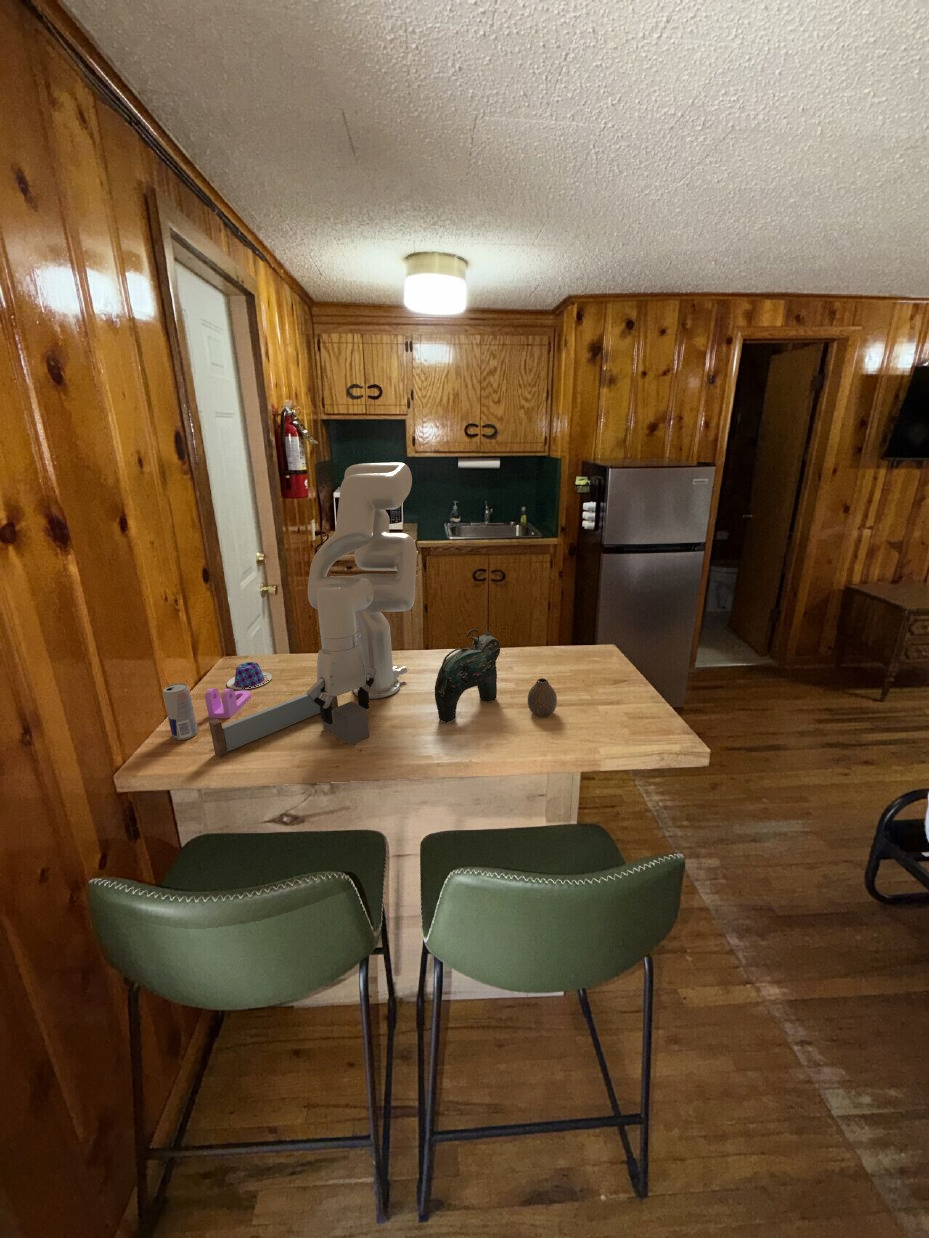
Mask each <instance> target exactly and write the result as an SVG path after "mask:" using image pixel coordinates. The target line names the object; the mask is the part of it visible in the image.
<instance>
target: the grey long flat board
mask: <svg viewBox="0 0 929 1238" xmlns="http://www.w3.org/2000/svg"><path fill="white" fill-rule="evenodd" d="M320 695H321V693H320V692H319V691H318V692H317V696H318V697H320ZM326 697H327V696H326ZM325 699H326V698H325ZM324 701H325V700H324ZM318 714H321V713H320V706H319V705H317V704H316V703H314V702H313V701H312V700H311V699H310V697H309V696H308V695H307V693H304V694H302V695H300V696H297V697H294V698H292V699H289V700H287V701H284V702H282V703H279V704H276V705H273V706H272V707H269V708H266V709H263V710H261V711H259V712H256V713H253V714H250V715H247V716H245V717H243V718H240V719H237V720H234V721H231V722H230V723H227V724H225V725H222V730H223V735H224V740H225V745H226V751H227V752H230V751H232V750H235V749H237V748H240V747H242V746H244V745H246V744H250V743H252V742H254V741H256V740H259V739H261V738H263V737H266V736H269V735H270V734H272V733H275V732H277V731H280V730H282V729H284V728H287V727H289V726H292V725H294V724H296V723H299V722H302V721H303V720H306V719H308V718H310V717H313V716H316V715H318Z"/></svg>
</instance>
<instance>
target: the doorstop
mask: <svg viewBox="0 0 929 1238" xmlns="http://www.w3.org/2000/svg"><path fill="white" fill-rule="evenodd" d="M332 718H333V723H332V724H330V725H329V724H327V723H326V722H324V721H323V720H322V719H321V721H322V729H323V730H324V731H326V732H327V733H330V734H332V735H333V736H334V737H336V738H338V739H340V740H341V741H343V742H345V743H346V744H348V745H349V746H354V745H355V744H357V743H359V742H361V741H363V740H365V739H368V738H369V737H370V729H369V728H370V727H369V718H368V709H366V708H364V707H362V706H360V705H359V703H358V704H357V703H356V702H353V701H348V702H345V703H343V704H341V705H338V707H336V708H334V709H333V710H332Z"/></svg>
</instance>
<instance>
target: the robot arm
mask: <svg viewBox="0 0 929 1238" xmlns="http://www.w3.org/2000/svg"><path fill="white" fill-rule="evenodd" d="M412 485H413V477H412V472H411V470H410V467H409V466H408V465H407V464H405V463H403V462H374V463H373V462H370V463H369V462H367V463H358V464H352V465H350V466H349V467H347V468H346V470H345V472H344V479H343V480H342V481H341V485H340V492H339V497H338V506H337V507H338V508H337V516H336V521H335V522H336V523H335V530H334V533H333V534H332V535H331V536H330V537H329V538H328V539H327V540H325V542H323V544H322V545H321V546H320V548H319V549H318V551H317V552H316V553H315V555H314V557H313V559H312V561H311V563H310V568H309V576H308V580H307V581H308V582H307V599H308V602H309V605H310V606H311V607H312V608H313V609H315V610H317V612H318V624H319V633H320V642H321V649H319V650H318V653H317V659H316V660H317V661H316V682H315V683H314V684H313V685H312V686H310V688H308V689H307V690H306V694H307V695H308V696H309V697H310V699H311V700H312V701H313V702H314V703H316V704H317V705H319V706H320V713H319V714H320V719H321V721H322V720H323V721H324V722H326V723H327V724H329V725H330V724H332V723H333V718H332V712H333V710H332V709H331V707H330V706H329V704H330V703H331V701H332V699H333V697H336V696H337V697H339V696H341V695H344V694H347V693H349V692H351V691H352V693H353V694H354V695H355V696H357V702H358V705H360V706H362V707H364V708H366V709H367V710H369V709H370V700H372V699H375V700H376V699H383V698H386V697H389V696H392V695H394V694H396V693H397V692H398V691H399V690H400V688H401V682H400V680H399V679H398V678H400V676H402V675H404V674H407V673H408V668H407V666H405V665H403V666H401V667H400V668H398V667H397V666H393V665H394V664H393V663H394V662H393V652H392V651H393V650H392V638H391V636H392V635H391V626H390V623H389V621H388V619H387V618H386V616H385V615H384V614H383V612H405V611H406V612H407V611H409V610H411V609H412V607H413V606H414V603H415V598H416V581H417V562H418V560H417V555H418V553H417V546H416V543H415V539H414V538H413V537H412V536H411V535H410V534H407V533H401V532H400V533H397V532H396V533H390V522H391V521H390V516H389V514H388V512H387V510H396V509H399V508H400V507H401V506H402V505H403V503H405V500H406V499H407V497H408V496H409V494H410V492H411V489H412ZM353 552H354V562H355V564H356V566H357V567H358V568H359V569H361V570H363V571H377V572H378V571H379V572H380V571H385V572H386V571H394V572H395V571H396V572H397V573H360V574H355V575H353V576H327V575H328V573H329V570H330V568H331V567H332V566H333V565H334V564H335V563H336V562H337V561H338V560H340V559H341V558H343V557H344V556H346V555H348V554H351V553H353ZM318 691H319V692H320V693H321V695H320V697H318V696H317V692H318ZM326 696H327V697H326ZM325 698H326V699H325ZM324 700H325V701H324ZM323 721H322V722H323Z"/></svg>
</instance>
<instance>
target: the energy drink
mask: <svg viewBox="0 0 929 1238" xmlns="http://www.w3.org/2000/svg"><path fill="white" fill-rule="evenodd" d="M162 689H163V692H162V696H163V697H162V698H163V700H164V706H165V709H166V715H167V718H168V719H167V720H168V724H169V727H170V732H171V737H172V738H173V739H174V740H176V741H185V740H189V739H191V738H193V737H195V736H196V735H197V733H198V732H199V728H198V725H197V719H196V714H195V709H194V704H193V699H192V695H191V690H190V686H189V685H188V684H187V683H186V682H185V683H184V682H177V683H172V684H169V685H167V686H166V687H164V688H162Z"/></svg>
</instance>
